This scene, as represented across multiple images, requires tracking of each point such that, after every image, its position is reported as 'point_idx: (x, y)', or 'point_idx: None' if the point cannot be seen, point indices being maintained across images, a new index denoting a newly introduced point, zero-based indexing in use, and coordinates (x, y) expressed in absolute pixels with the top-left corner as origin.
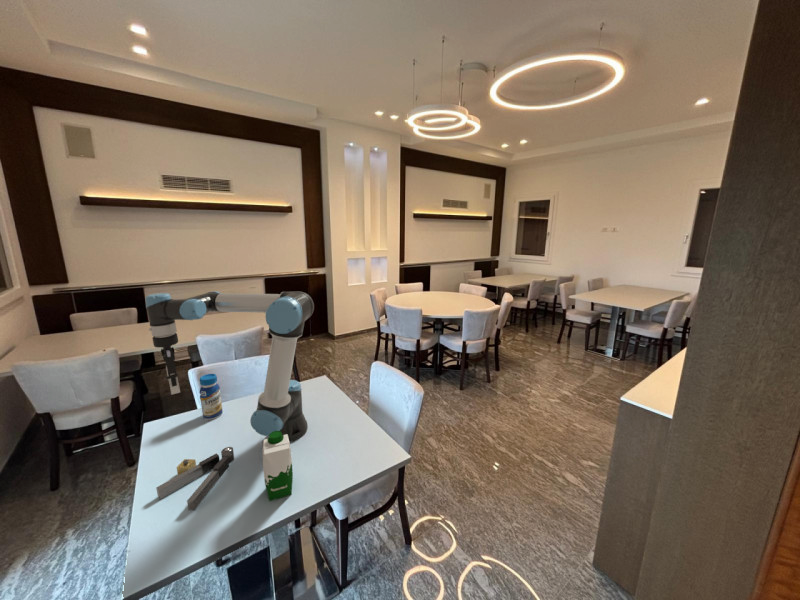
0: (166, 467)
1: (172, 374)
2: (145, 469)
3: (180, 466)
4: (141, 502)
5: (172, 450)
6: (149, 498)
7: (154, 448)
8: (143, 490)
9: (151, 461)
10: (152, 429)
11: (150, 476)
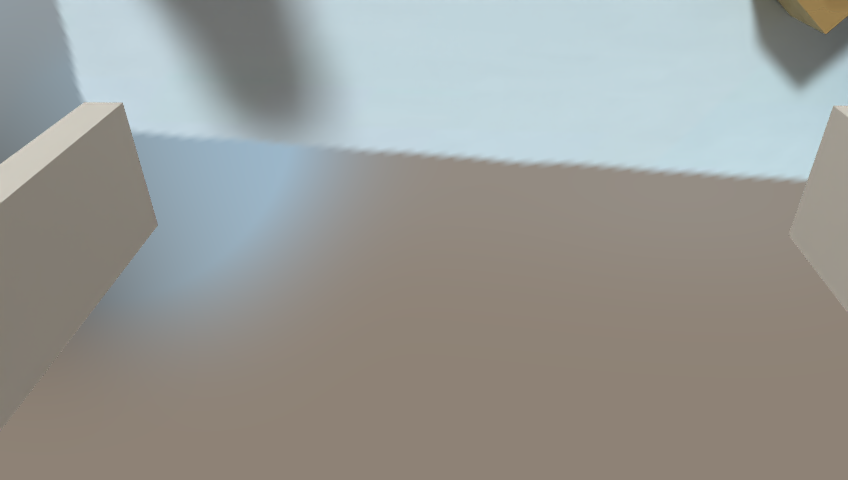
0: (628, 67)
1: (64, 230)
2: (557, 161)
3: (842, 11)
4: None
5: (460, 24)
6: None
7: (363, 116)
8: (742, 171)
9: (499, 134)
10: None
11: (646, 141)
